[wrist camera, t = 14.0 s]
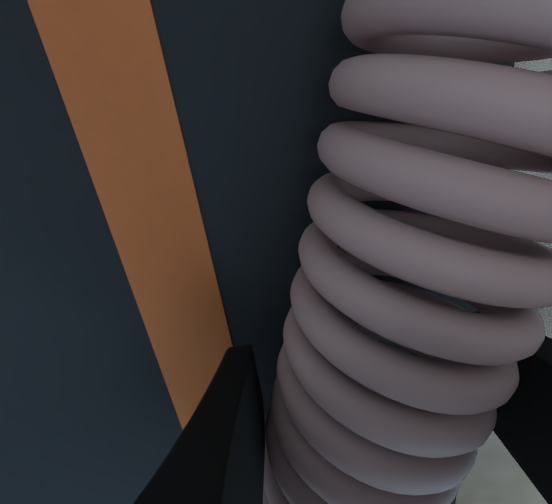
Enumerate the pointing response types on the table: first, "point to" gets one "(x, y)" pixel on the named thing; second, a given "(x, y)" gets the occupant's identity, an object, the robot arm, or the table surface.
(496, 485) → the table surface
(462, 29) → the coil
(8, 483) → the mat
